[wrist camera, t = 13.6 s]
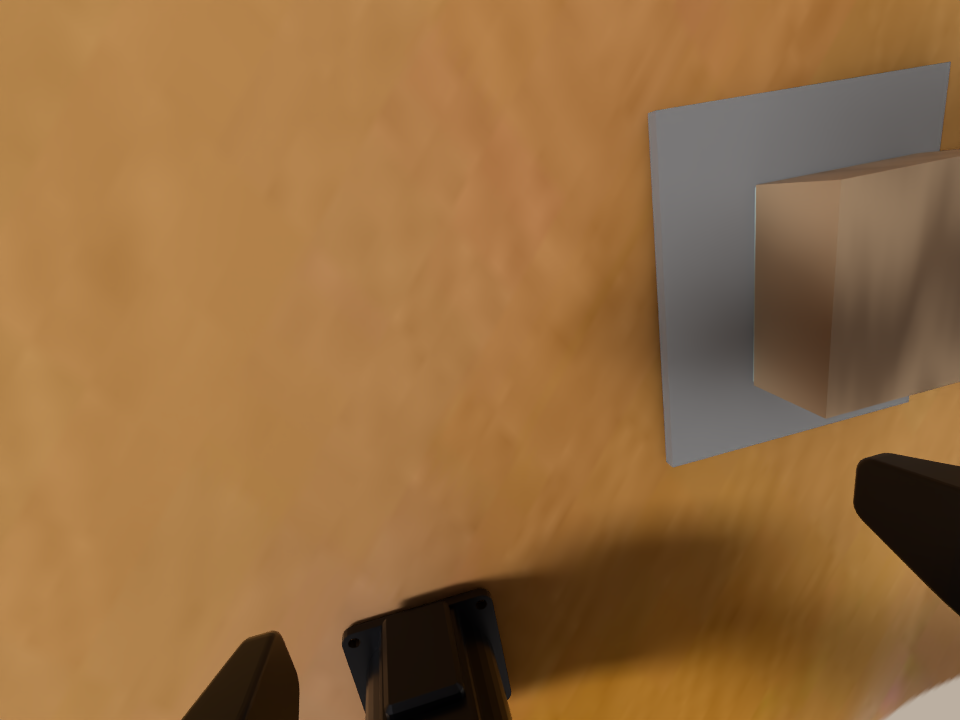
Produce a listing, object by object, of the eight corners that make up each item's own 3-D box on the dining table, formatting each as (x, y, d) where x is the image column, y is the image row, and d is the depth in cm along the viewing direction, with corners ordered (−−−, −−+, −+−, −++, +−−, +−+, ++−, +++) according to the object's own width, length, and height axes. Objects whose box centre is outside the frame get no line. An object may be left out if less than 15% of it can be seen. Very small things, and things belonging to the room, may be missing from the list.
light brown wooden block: (750, 383, 21) (892, 347, 22) (825, 418, 17) (989, 373, 18) (752, 185, 18) (912, 153, 19) (841, 179, 15) (1030, 141, 16)
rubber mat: (897, 398, 23) (908, 401, 23) (666, 461, 22) (672, 467, 21) (936, 65, 19) (950, 61, 18) (648, 113, 17) (655, 110, 17)
